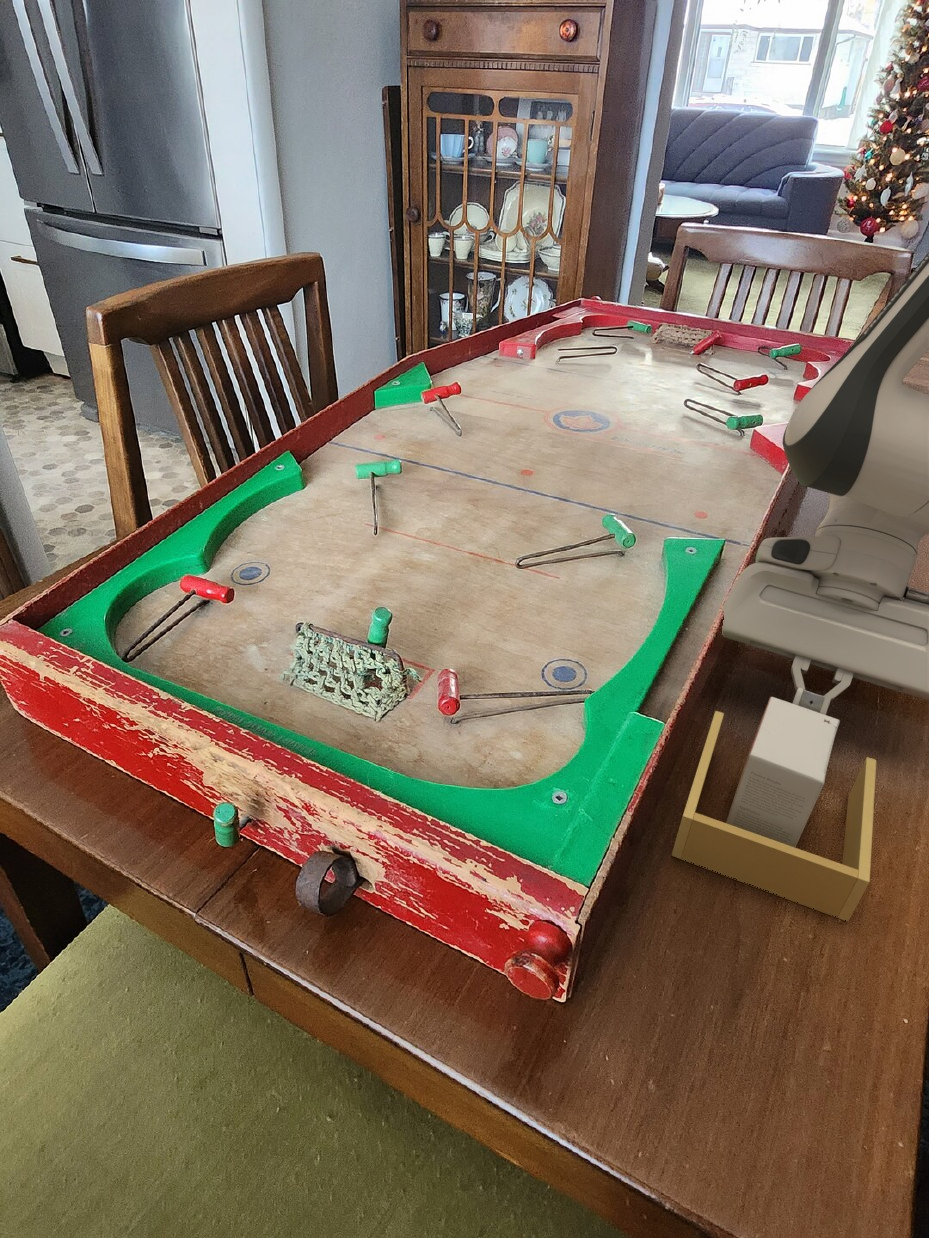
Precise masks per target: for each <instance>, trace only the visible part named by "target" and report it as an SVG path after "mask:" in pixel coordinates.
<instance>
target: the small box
mask: <svg viewBox="0 0 929 1238" xmlns="http://www.w3.org/2000/svg"><path fill="white" fill-rule="evenodd" d="M792 703H793V702H792ZM792 703H791V702H789V701H786V700H783V699H780V698H777V697H774V696H769V698H768V701H767V704H766V705H765V709H764V712H763V713H762V717H761V719H760V722H759V724H758V727H757V729H756V732H755V734H754V738H753V740H752V743H751V745H750V748H749V751H748V754H747V757H746V760H745V762H744V765H743V769H742V772H741V775H740V778H739V781H738V783H737V784H738V785H737V787H736V790H735V793H734V797H733V800H732V803H731V806H730V809H729V811H728V815H727V818H726V821H725V823H727V824H729V825H732V826H735V827H738V828H741V829H744V830H746V831H749V832H752V833H755V834H758V835H761V836H763V837H766V838H769V839H772V840H775V841H778V842H780V843H783V844H786V845H789V846H792V847H795V848H797V845H798V843H799V841H800V838H801V836H802V834H803V832H804V829H805V827H806V825H807V823H808V821H809V818H810V816H811V814H812V812H813V809H814V807H815V805H816V803H817V800H818V799H819V797H820V795H821V792H822V789H823V787H824V786H825V781H826V776H827V770H828V765H829V762H830V758H831V753H832V749H833V745H834V741H835V738H836V734H837V731H838V728H839V725H840V722H841V721H840V719H838V718H835V717H833V716H830V715H827V714H826V715H824V714H821V713H818V712H815V711H812V710H809V709H806V708H804V707H801V706H798V705H795V704H792Z"/></svg>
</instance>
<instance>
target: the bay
mask: <svg viewBox="0 0 929 1238" xmlns="http://www.w3.org/2000/svg"><path fill="white" fill-rule="evenodd" d="M724 717H725V713H724V712H721V711H718V710H715V711H714V714H713V716H712V721H711V724H710V727H709V729H708V733H707V736H706V740H705V743H704V746H703V749H702V753H701V755H700V759H699V762H698V765H697V768H696V772H695V775H694V778H693V781H692V784H691V787H690V791H689V794H688V798H687V800H686V804H685V808H684V811H683V814H682V817H681V820H680V824H679V828H678V831H677V834H676V837H675V841H674V845H673V848H672V851H671V856H672V857H673V858H676V859H678V860H682V861H684V862H685V863H686V862H687V863H689V864H692V865H695V866H697V867H700V868H703V869H705V870H707V871H711V872H713V873H715V874H719V875H721V876H724V877H727V878H729V879H732V880H735V881H737V882H740V883H743V884H745V885H748V886H750V887H753V888H756V889H759V890H762V891H764V892H767V893H769V894H773V893H774V894H773V895H775V896H778V897H780V898H783V899H785V900H787V901H790V902H793V903H796V904H798V905H801V906H804V907H806V908H809V909H812V910H814V911H816V912H819V913H823V914H825V915H828V916H830V917H833V918H837V919H839V920H841V921H844V922H847V923H848V922H849V921H850V920H851V917H852V916H853V914H854V912H855V911H856V908H857V906H858V904H859V903H860V901H861V899H862V898H863V895H864V893H865V892H866V889H867V888H868V886H869V885H870V883H871V864H872V849H873V848H872V847H873V846H872V845H873V828H874V813H875V812H874V809H875V791H876V773H877V759H875V758H871V757H869V756H866V758H865V759H864V762H863V764H862V766H861V767H860V770H859V772H858V774H857V776H856V778H855V781H854V783H853V785H852V787H851V789H850V792H849V793H848V796H847V806H846V818H845V828H844V829H845V830H844V839H843V850H842V852H843V853H842V860H841V862H842V863H840V862H837V861H835V860H831V859H829V858H826V857H823V856H821V855H817V854H815V853H811V852H810V851H809V852H808V851H806V850H803V849H801V848H797V847H796V848H795V847H792V846H789V845H786V844H783V843H780V842H778V841H775V840H772V839H769V838H766V837H763V836H761V835H758V834H755V833H752V832H749V831H746V830H744V829H741V828H738V827H735V826H732V825H729V824H727V823H726V822H723V821H721V820H718V819H715V818H712V817H709V816H707V815H704V814H701V813H698V812H696V811H697V807H698V805H699V800H700V797H701V793H702V790H703V787H704V784H705V780H706V777H707V773H708V770H709V767H710V763H711V760H712V756H713V753H714V750H715V746H716V743H717V740H718V736H719V733H720V730H721V726H722V724H723V719H724ZM685 860H686V861H685ZM691 862H692V863H691ZM693 863H694V864H693ZM699 865H700V866H699ZM701 866H703V867H701ZM704 867H706V868H704ZM707 868H708V869H707ZM712 870H713V871H712ZM715 871H716V872H715ZM717 872H718V873H717ZM720 873H721V874H720ZM725 875H726V876H725ZM728 876H729V877H728ZM731 877H732V878H731ZM733 878H736V879H737V880H736V879H733ZM744 882H745V883H744ZM747 883H748V884H747ZM749 884H751V885H749ZM752 885H754V886H752ZM755 886H756V887H755ZM757 887H758V888H757ZM760 888H761V889H760ZM763 889H764V890H763ZM765 890H768V891H769V892H768V891H765ZM776 894H777V895H776ZM784 897H785V898H784ZM797 902H798V903H797ZM813 908H814V909H813ZM832 915H833V916H832ZM835 916H836V917H835ZM845 920H846V921H845Z"/></svg>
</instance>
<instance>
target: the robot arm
mask: <svg viewBox="0 0 929 1238" xmlns="http://www.w3.org/2000/svg"><path fill="white" fill-rule="evenodd" d="M928 351H929V251H928V252H927V253H926V254H925V256H924V258H923V259H921V261H920V262H919V264H918V265H917V266H916V267H915V268H914V270H913V271H912V272H911V273H910V274H909V275H908V276H907V278H906V279H905V281H903V283H902V284H901V285H900V287H899V288H898V289H897V290H896V291H895V293H894V294H893V295H892V297H890V299H889V300H888V301H887V302H886V304H885V305H884V306H883V307H882V309H881V310H880V311H879V312H878V313H877V315H876V316H875V317H874V318H873V319H872V321H870V323H869V324H868V326H866V328H865V329H864V331H863V332H862V333H861V334H860V335H859V336H858V338H857V339H856V340H855V341H854V342H853V344H852V345H851V346H850V347H849V348H847V350H846V351H845V353H844V354H842V356H841V357H840V358H839V359H838V360H837V361H836V362H835V363H834V364H833V365H832V366H831V367H830V368H829V369H828V370H827V371H826V372H825V373H824V374H823V375H822V376H821V377H820V378H819V379H818V380H817V381H816V383H814V384H813V386H812V387H811V388H810V390H809V391H808V392H807V393H806V394H805V395H804V397H803V398H802V399H801V400H800V401H799V403H798V404H797V405H796V407H795V409H794V410H793V412H792V414H791V415H790V418H789V420H788V422H787V424H786V427H785V429H784V432H783V435H782V447H783V451H784V454H785V458H786V460H787V463H788V466H789V467H790V470H791V472H792V473H793V475H794V476H795V478H796V480H797V481H798V484H800V485H801V486H802V487H807V488H810V489H813V490H817V491H820V492H823V493H827V494H829V505H828V510H827V513H826V515H825V517H824V518H823V520H822V521H821V522H820V524H819V525H818V527H817V528H816V531H815V532H814V533H815V534H814V535H811V536H810V535H809V536H808V535H807V536H786V537H785V536H782V537H781V536H779V537H778V536H776V537H775V536H774V537H767V538H765V539H763V540H762V541H761V543H760V544H759V546H758V549H757V551H756V555H755V562H753V563H751V564H750V565H748V566H746V567H745V568H744V569H743V570H742V571H741V573H739V575H738V577H737V579H736V580H735V581H734V583H733V585H732V586H731V589H730V591H729V593H728V595H727V597H726V599H725V601H724V604H723V606H722V608H721V610H720V612H721V611H722V610H723V611H724V620H723V626H722V634H721V636H722V635H723V636H722V637H723V638H725V639H729V640H732V641H734V642H737V643H740V644H741V643H742V644H744V645H748V646H750V647H754V648H758V649H761V650H763V651H766V652H770V653H773V654H776V655H780V656H782V657H786V658H790V659H793V662H792V665H791V667H790V673H791V678H792V682H793V686H794V690H795V691H796V692H795V693H794V694H795V695H794V697H793V700H792V704H795V705H798V706H801V707H804V708H806V709H809V710H812V711H815V712H818V713H821V714H824V715H827V713H828V709H829V706H830V704H831V701H833V700H834V699H836V698H837V697H838V696H839V695H841V694H842V693H843V692H844V691H845V690H847V689H848V688H849V687H850V686H851V683H852V679H857V680H860V681H863V682H867V683H870V684H874V685H876V686H880V687H882V688H886V689H889V690H892V691H895V692H898V693H902V694H905V695H908V696H912V697H915V698H918V699H921V700H923V701H927V702H929V592H926V591H923V590H920V589H916V588H912V587H909V586H908V584H909V581H910V578H911V576H912V572H913V570H914V567H915V564H916V560H917V558H918V553H919V551H918V550H919V543H920V541H921V539H922V538H924V537H925V536H927V535H929V394H926V393H923V392H921V391H918V390H916V389H914V388H911V387H908V386H907V385H906V384H904V383H903V381H904V379H905V378H906V376H907V375H908V374H909V372H910V371H911V370H912V369H913V368H914V367H915V366H917V363H918V362H919V361H920V360H921V359H922V358H923V357H924V356H925V354H927V352H928ZM810 665H812V666H815V667H818V668H821V669H825V670H827V671H831V672H834V674H833V678H832V680H831V682H832V684H834V685H835V686H834V687H833V688H832V689H830V690H829V691H828V692H826V693H825V694H823V695H821V694H819V693H814V692H811V691H808V690H806V687H805V682H804V677H803V675H807V672H808V670H809V668H810Z"/></svg>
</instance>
